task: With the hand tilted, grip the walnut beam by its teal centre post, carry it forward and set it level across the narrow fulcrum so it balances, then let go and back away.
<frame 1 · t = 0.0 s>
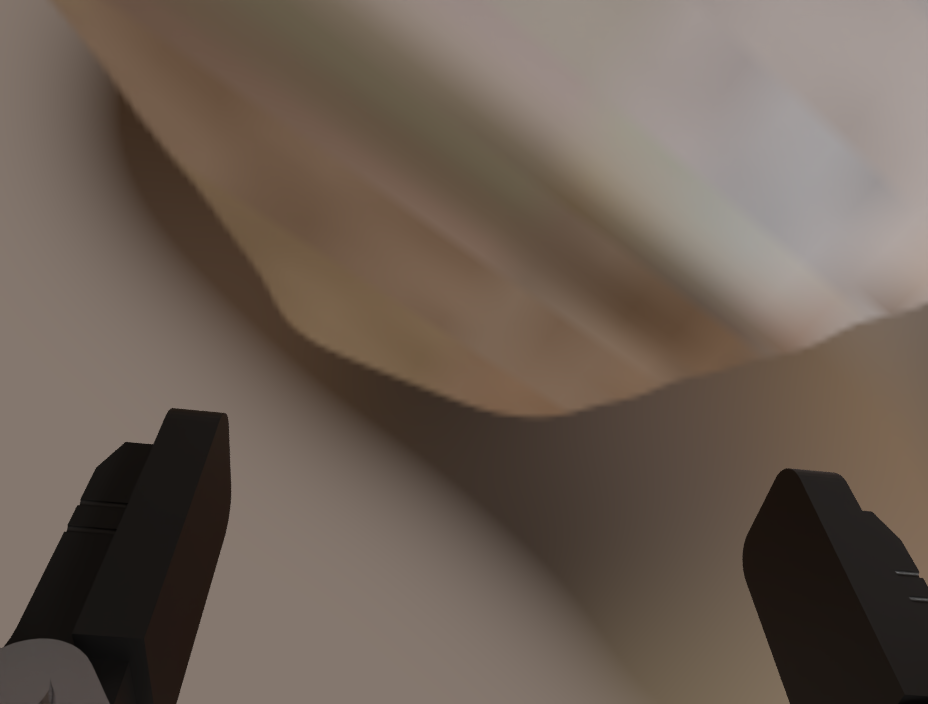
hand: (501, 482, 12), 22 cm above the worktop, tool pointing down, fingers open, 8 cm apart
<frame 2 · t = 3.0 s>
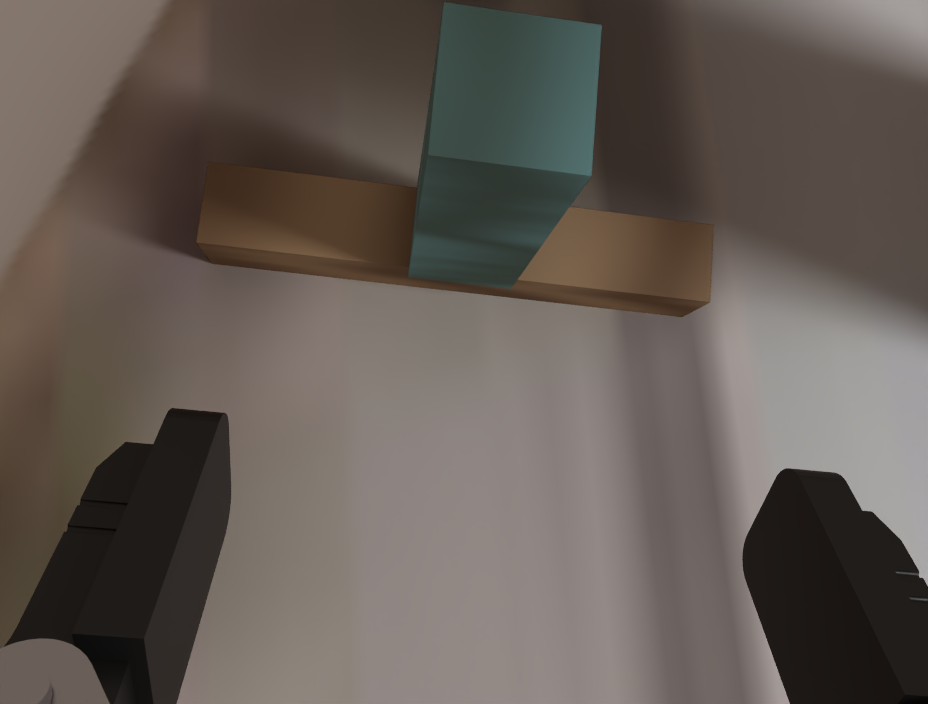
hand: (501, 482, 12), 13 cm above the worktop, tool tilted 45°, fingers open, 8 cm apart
beam: (456, 255, 26), on the worktop
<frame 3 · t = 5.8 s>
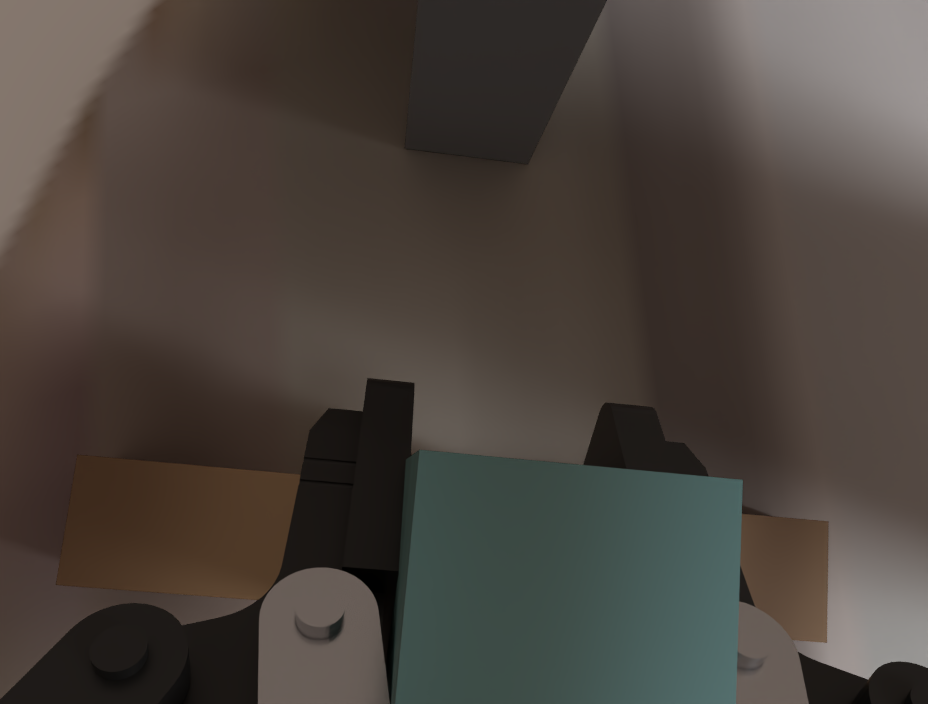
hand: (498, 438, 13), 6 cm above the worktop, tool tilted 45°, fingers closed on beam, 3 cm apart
beam: (452, 542, 18), on the worktop, touching gripper
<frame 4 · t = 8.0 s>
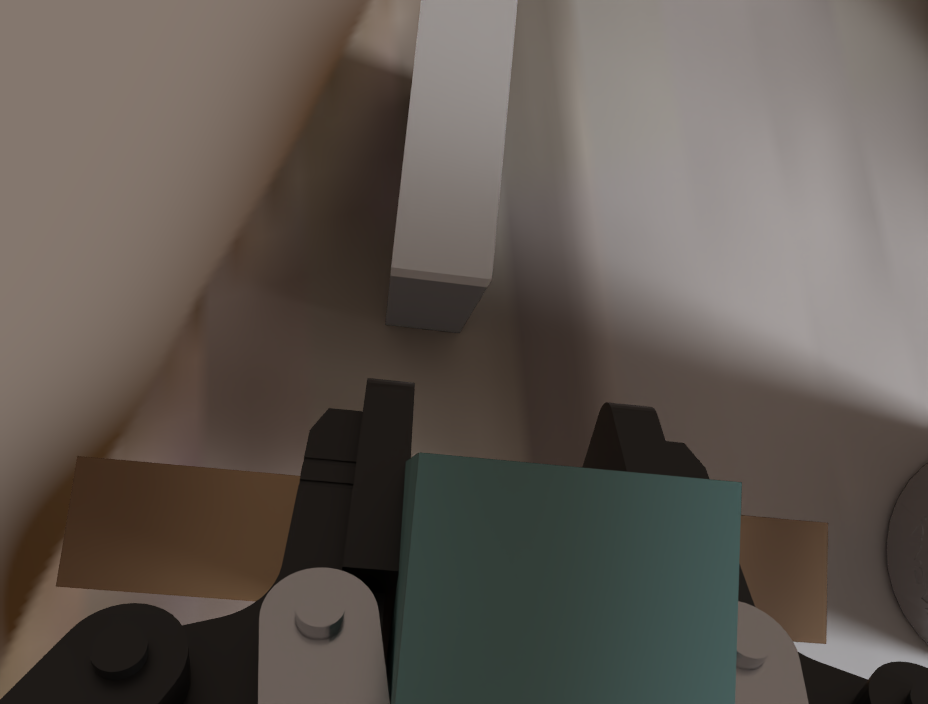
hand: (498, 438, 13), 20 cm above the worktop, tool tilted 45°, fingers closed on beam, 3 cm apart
fulcrum: (434, 210, 34), on the worktop
beam: (451, 543, 18), point 14 cm above the worktop, touching gripper
when the fingers open (16 cm above the worktop, at t = 10.1 s): beam stays where it is, resting on fulcrum.
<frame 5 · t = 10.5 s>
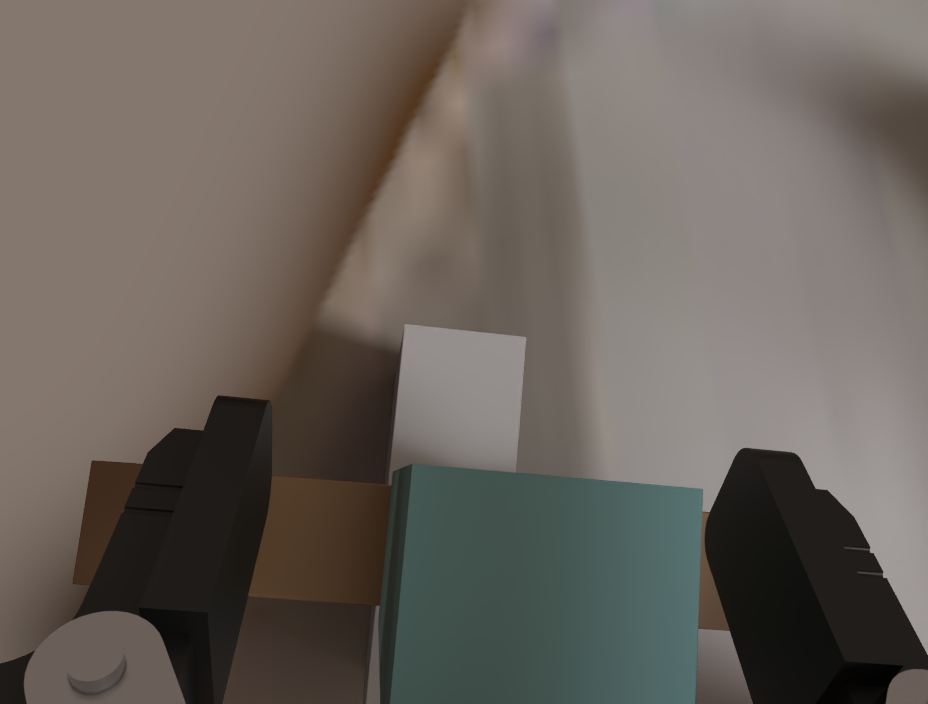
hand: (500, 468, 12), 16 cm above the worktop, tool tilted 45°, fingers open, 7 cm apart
fulcrum: (424, 519, 28), on the worktop
beam: (448, 542, 19), point 9 cm above the worktop, touching fulcrum
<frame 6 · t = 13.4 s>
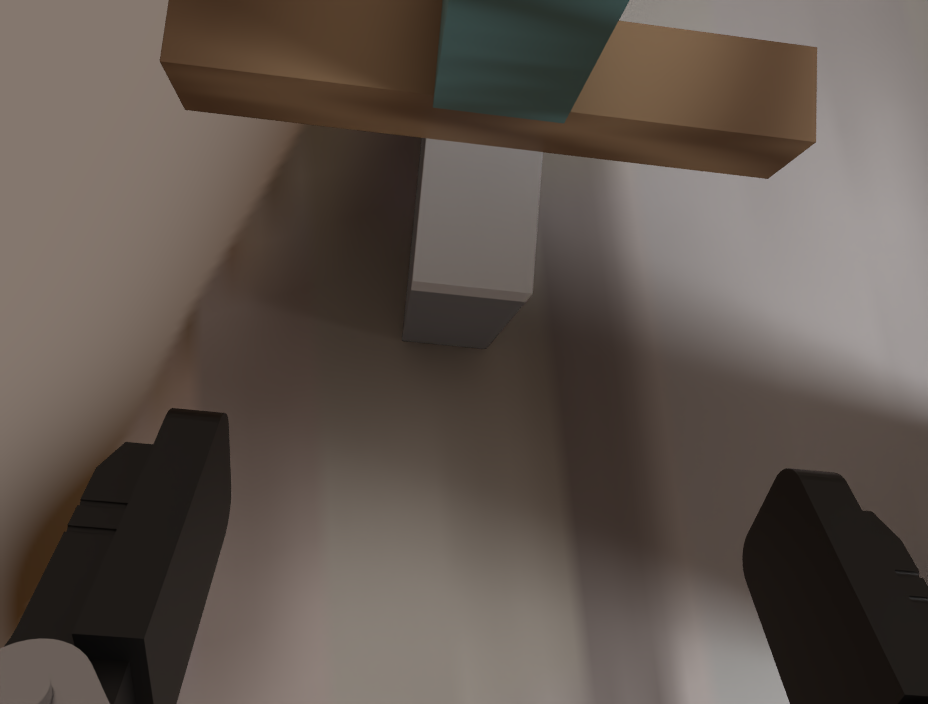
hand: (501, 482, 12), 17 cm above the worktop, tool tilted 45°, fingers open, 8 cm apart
fulcrum: (455, 210, 30), on the worktop
beam: (489, 101, 21), point 9 cm above the worktop, touching fulcrum
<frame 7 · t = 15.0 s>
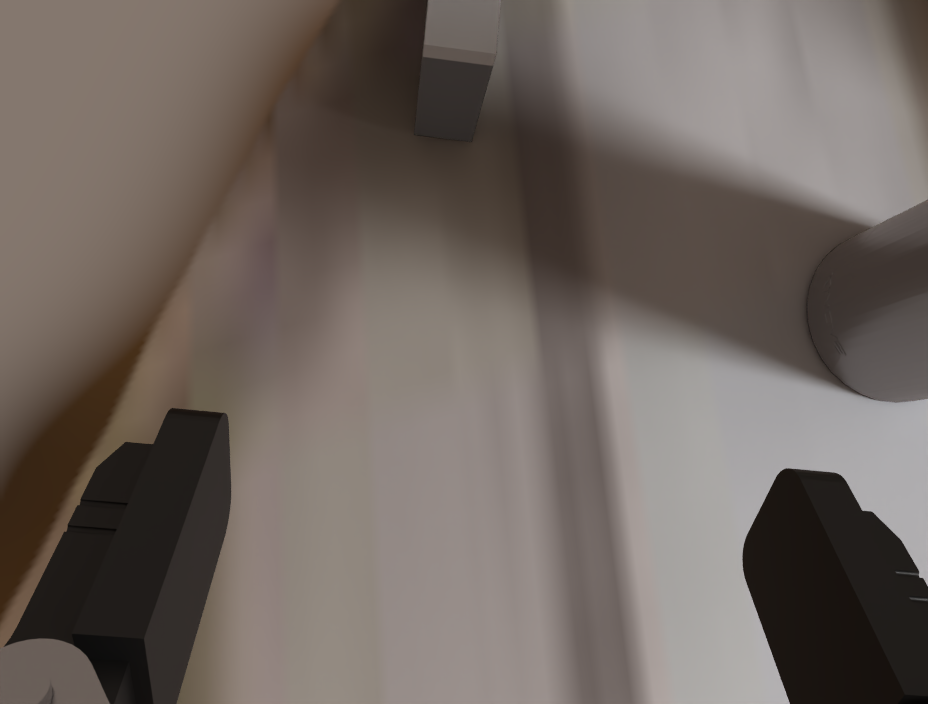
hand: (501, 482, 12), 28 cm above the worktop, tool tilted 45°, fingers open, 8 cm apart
fulcrum: (451, 49, 43), on the worktop
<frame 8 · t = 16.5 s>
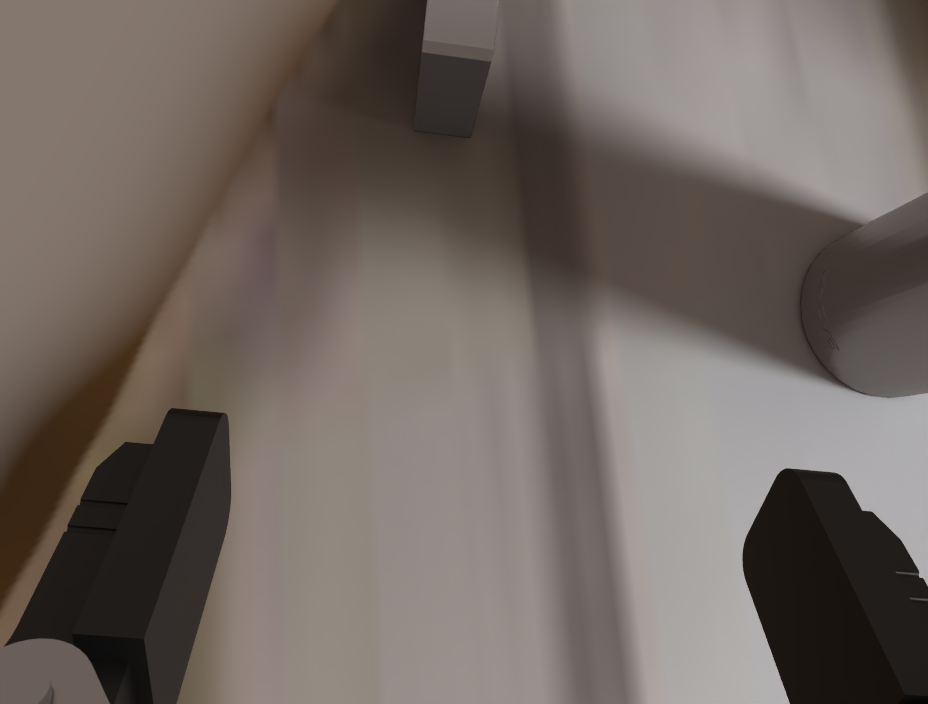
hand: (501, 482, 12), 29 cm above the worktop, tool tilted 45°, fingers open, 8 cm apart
fulcrum: (450, 46, 44), on the worktop
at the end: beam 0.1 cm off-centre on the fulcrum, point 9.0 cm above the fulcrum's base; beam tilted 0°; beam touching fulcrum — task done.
